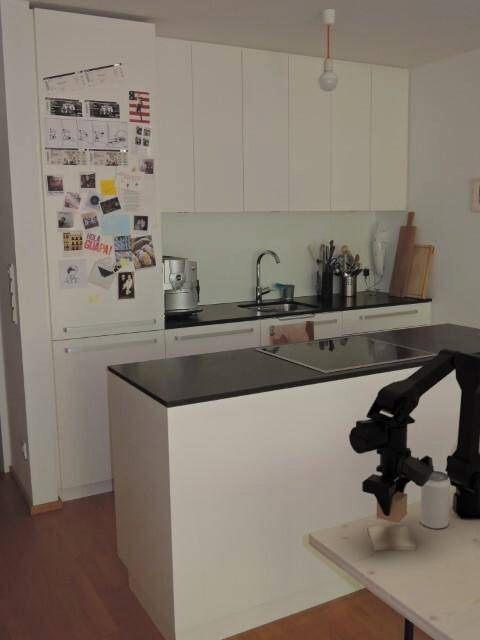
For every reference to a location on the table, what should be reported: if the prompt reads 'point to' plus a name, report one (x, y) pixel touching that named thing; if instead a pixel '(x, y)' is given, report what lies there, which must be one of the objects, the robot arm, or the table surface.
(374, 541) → the coaster
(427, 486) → the can
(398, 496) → the cube
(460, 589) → the table surface
